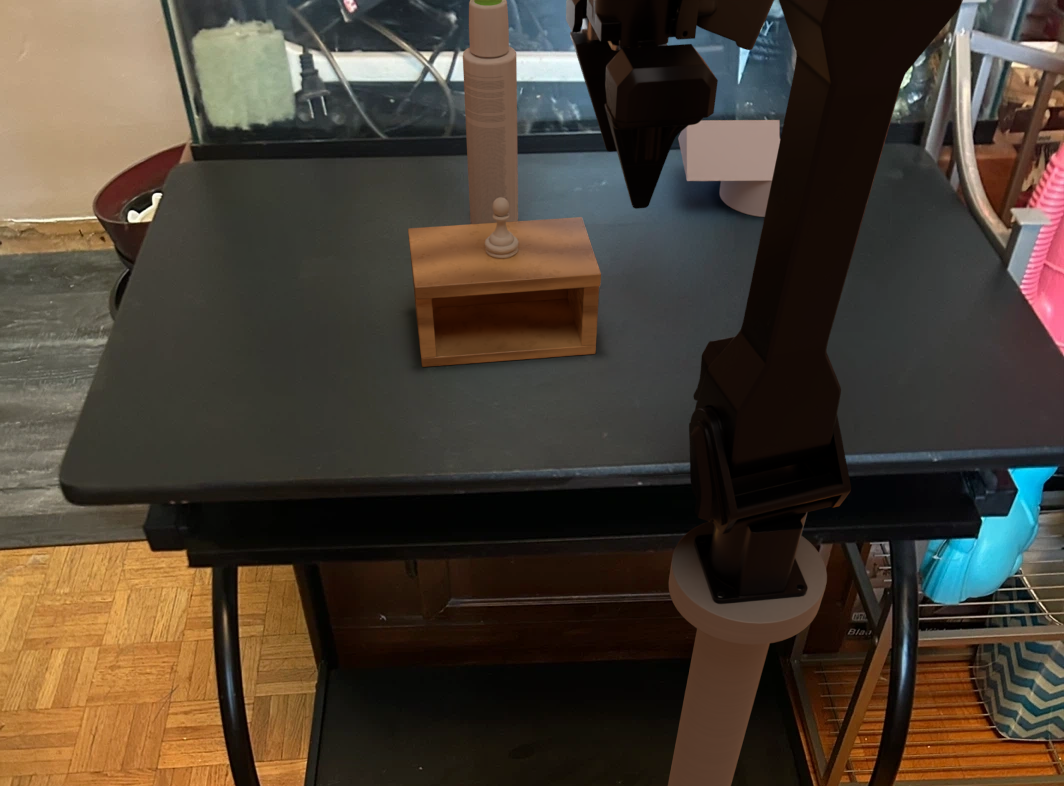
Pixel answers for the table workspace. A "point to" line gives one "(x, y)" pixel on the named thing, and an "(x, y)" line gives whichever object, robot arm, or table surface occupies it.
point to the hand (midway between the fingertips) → (626, 177)
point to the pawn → (501, 233)
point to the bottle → (490, 111)
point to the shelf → (504, 292)
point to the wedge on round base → (733, 159)
